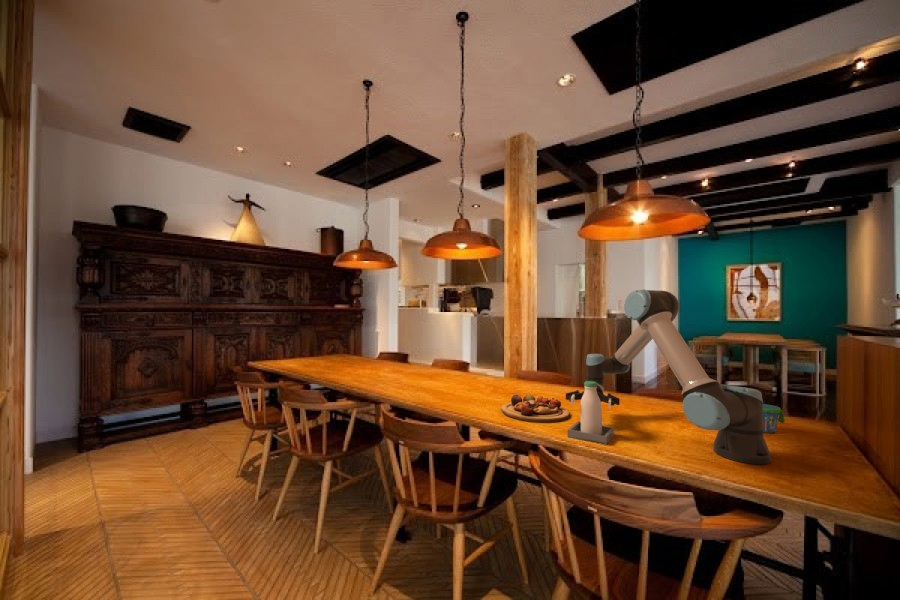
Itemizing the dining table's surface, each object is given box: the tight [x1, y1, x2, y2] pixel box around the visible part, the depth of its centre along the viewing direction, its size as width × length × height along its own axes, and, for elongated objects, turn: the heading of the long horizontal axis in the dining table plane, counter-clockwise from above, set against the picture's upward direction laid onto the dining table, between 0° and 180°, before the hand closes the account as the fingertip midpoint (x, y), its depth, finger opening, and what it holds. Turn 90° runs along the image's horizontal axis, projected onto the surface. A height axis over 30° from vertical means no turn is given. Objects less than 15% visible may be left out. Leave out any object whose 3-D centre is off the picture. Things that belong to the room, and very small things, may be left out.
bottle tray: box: [567, 420, 615, 446], centre depth 139 cm, size 14×14×3 cm
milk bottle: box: [580, 380, 603, 435], centre depth 140 cm, size 8×8×20 cm
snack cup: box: [763, 403, 786, 434], centre depth 148 cm, size 16×10×10 cm
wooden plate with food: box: [500, 393, 571, 423], centre depth 171 cm, size 32×32×8 cm
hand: (590, 403), depth 137 cm, fingers open, 13 cm apart
